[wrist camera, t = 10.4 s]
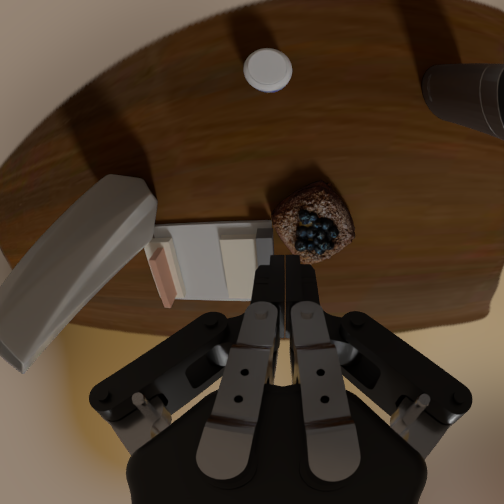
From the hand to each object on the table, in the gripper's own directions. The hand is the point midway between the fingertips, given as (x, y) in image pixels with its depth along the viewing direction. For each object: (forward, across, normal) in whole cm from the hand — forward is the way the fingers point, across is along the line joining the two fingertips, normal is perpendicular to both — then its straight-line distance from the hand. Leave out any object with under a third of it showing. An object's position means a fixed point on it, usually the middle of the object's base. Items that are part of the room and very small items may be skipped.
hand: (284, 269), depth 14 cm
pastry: (+28, -5, +10) cm, 30 cm away
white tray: (+27, +12, +18) cm, 35 cm away
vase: (+27, +24, +6) cm, 36 cm away
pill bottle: (+27, +1, -12) cm, 30 cm away
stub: (+26, +21, +18) cm, 38 cm away
